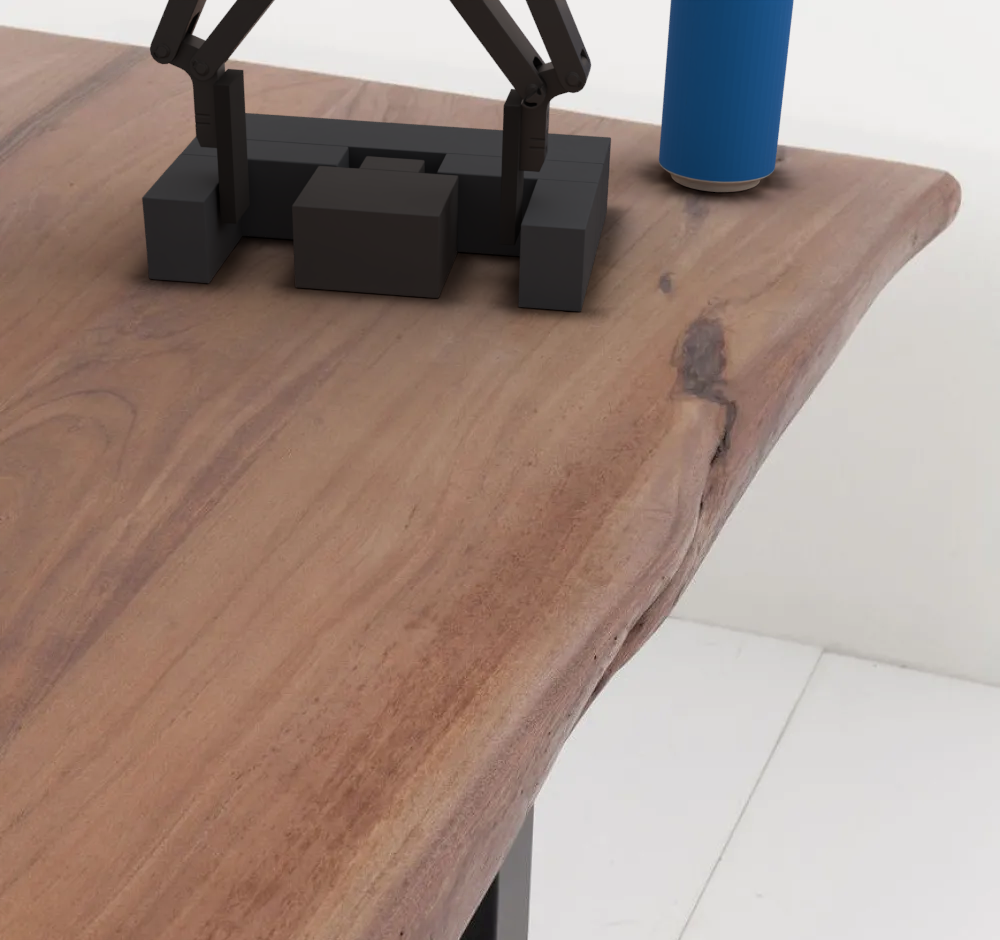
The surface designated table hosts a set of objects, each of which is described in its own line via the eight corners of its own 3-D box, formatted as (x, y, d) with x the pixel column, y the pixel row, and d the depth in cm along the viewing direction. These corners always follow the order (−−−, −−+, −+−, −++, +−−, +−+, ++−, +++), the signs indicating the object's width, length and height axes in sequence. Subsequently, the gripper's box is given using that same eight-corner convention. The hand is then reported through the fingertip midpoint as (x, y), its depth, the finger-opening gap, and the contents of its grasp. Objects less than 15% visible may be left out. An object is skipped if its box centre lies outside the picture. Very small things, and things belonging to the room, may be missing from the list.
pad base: (148, 279, 91) (141, 197, 89) (221, 185, 102) (217, 110, 100) (581, 311, 89) (585, 229, 87) (606, 212, 100) (611, 137, 98)
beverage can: (746, 156, 109) (769, -67, 102) (791, 192, 104) (819, -39, 97) (641, 163, 107) (657, -63, 100) (681, 200, 102) (701, -34, 95)
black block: (294, 287, 91) (291, 205, 88) (329, 230, 97) (326, 152, 95) (438, 298, 90) (439, 216, 88) (463, 240, 96) (464, 162, 94)
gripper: (51, -277, 77) (99, 231, 89) (658, -244, 75) (621, 272, 87) (106, -298, 83) (144, 180, 95) (669, -268, 81) (633, 218, 93)
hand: (372, 225), depth 91 cm, fingers open, 13 cm apart
